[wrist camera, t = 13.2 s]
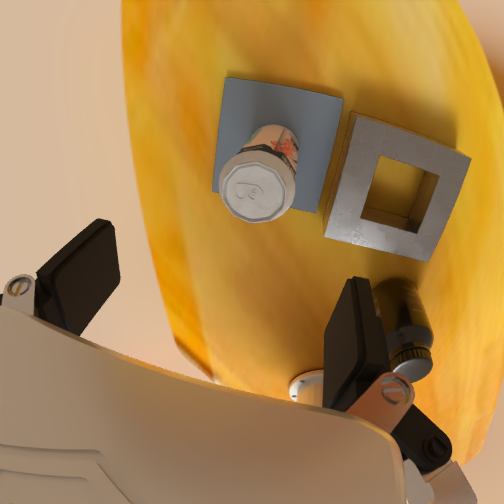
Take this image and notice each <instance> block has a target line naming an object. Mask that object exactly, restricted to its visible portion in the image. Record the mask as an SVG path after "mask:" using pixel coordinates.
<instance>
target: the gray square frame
mask: <svg viewBox="0 0 504 504" xmlns="http://www.w3.org/2000/svg"><path fill="white" fill-rule="evenodd" d="M380 155H382V156H385V157H388V158H391V159H394V160H397V161H400V162H403V163H406V164H409V165H412V166H415V167H418V168H420V169H423V170H425V173H424V176H423V179H422V182H421V185H420V188H419V190H418V193H417V196H416V199H415V201H414V204H413V206H412V209H411V212H410V214H409V217H408V218H405V217H402V216H398V215H395V214H392V213H388V212H384V211H381V210H377V209H374V208H370V207H366V206H364V204H365V201H366V198H367V195H368V192H369V189H370V185H371V182H372V179H373V176H374V173H375V169H376V166H377V163H378V159H379V156H380ZM470 162H471V158H470V157H468V156H467V155H465V154H463V153H462V152H460V151H459V150H457V149H455V148H453V147H450V146H448V145H446V144H443V143H441V142H439V141H436V140H434V139H431V138H429V137H426V136H424V135H421V134H419V133H416V132H413V131H411V130H408V129H405V128H402V127H400V126H397V125H394V124H391V123H388V122H385V121H382V120H379V119H375V118H372V117H369V116H366V115H362V114H359V113H355V112H352V111H351V114H350V119H349V123H348V127H347V131H346V135H345V139H344V143H343V147H342V151H341V155H340V159H339V163H338V167H337V171H336V175H335V178H334V182H333V186H332V189H331V193H330V197H329V200H328V204H327V207H326V211H325V214H324V218H323V232H324V237H326V238H331V239H335V240H339V241H344V242H348V243H352V244H356V245H360V246H364V247H369V248H373V249H377V250H381V251H385V252H389V253H393V254H397V255H401V256H405V257H409V258H413V259H416V260H420V261H424V262H428V261H429V259H430V258H431V255H432V253H433V251H434V249H435V247H436V245H437V243H438V241H439V239H440V237H441V235H442V232H443V230H444V228H445V226H446V224H447V221H448V219H449V217H450V214H451V212H452V210H453V207H454V205H455V202H456V200H457V197H458V195H459V192H460V189H461V187H462V184H463V181H464V179H465V176H466V173H467V170H468V167H469V165H470Z"/></svg>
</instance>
